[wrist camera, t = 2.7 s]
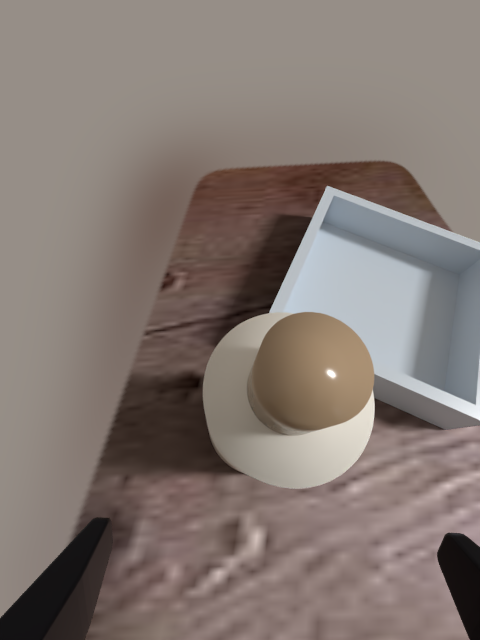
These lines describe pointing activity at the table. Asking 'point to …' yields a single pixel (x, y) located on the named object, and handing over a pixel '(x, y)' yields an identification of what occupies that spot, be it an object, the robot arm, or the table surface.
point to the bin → (396, 302)
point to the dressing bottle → (290, 398)
